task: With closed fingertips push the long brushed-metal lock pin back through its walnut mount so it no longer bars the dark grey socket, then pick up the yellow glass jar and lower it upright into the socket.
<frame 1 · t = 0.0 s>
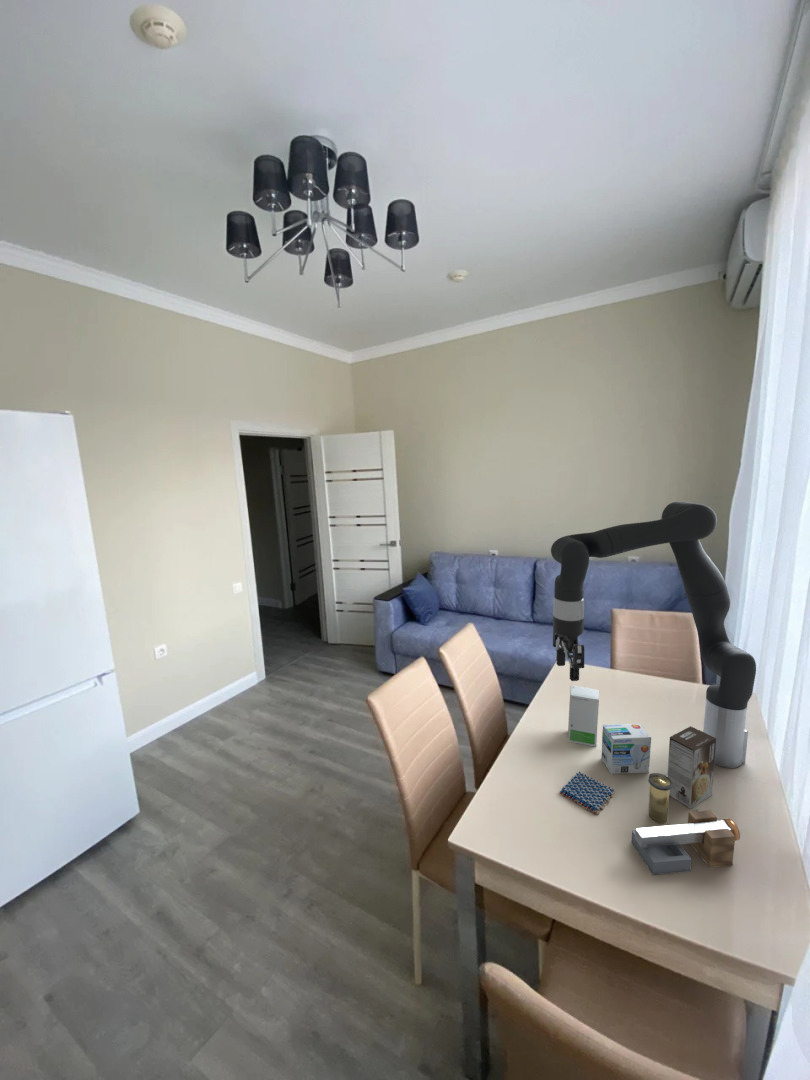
hand: (567, 672, 117), 29 cm above the table, fingers open, 8 cm apart
coffee box: (688, 794, 112), on the table
light bulb box: (624, 766, 123), on the table
mount: (708, 851, 95), on the table
woven mat: (587, 796, 113), on the table
lock pin: (685, 833, 94), point 5 cm above the table, slide at 0.0 cm
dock: (659, 856, 95), on the table
skincare box: (582, 738, 135), on the table
yellow glass jar: (657, 817, 105), on the table
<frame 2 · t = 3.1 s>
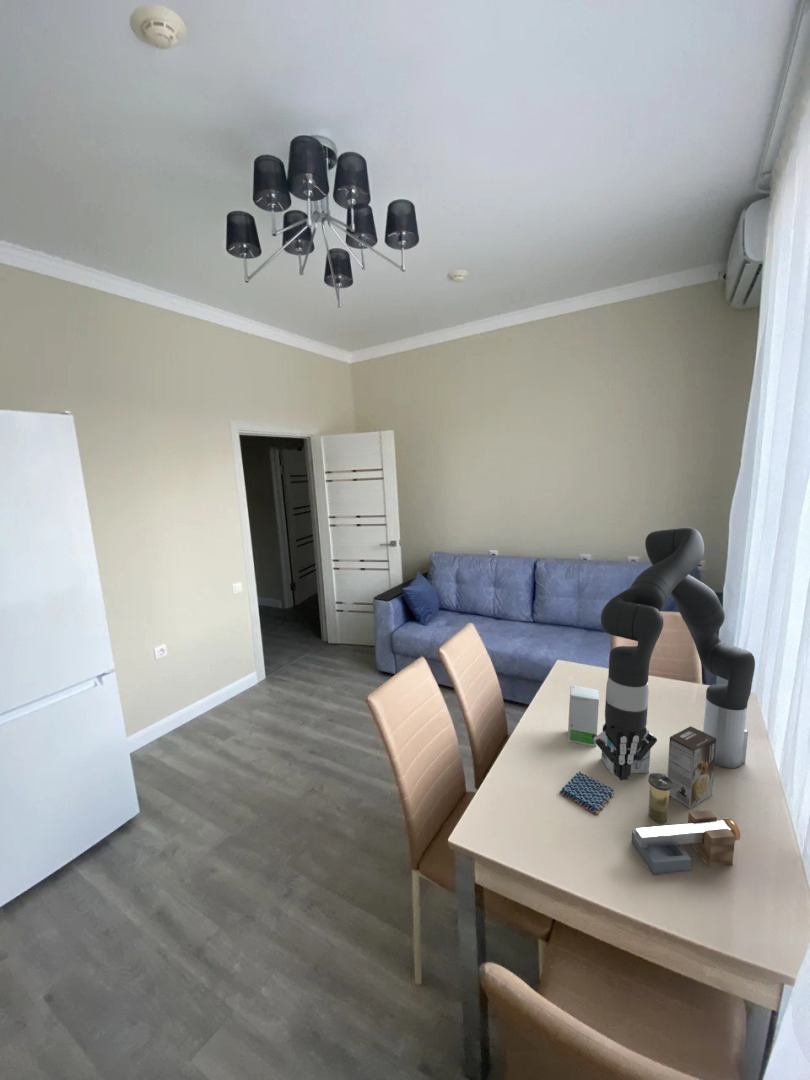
hand: (621, 777, 91), 20 cm above the table, fingers closed
nothing on the table moved.
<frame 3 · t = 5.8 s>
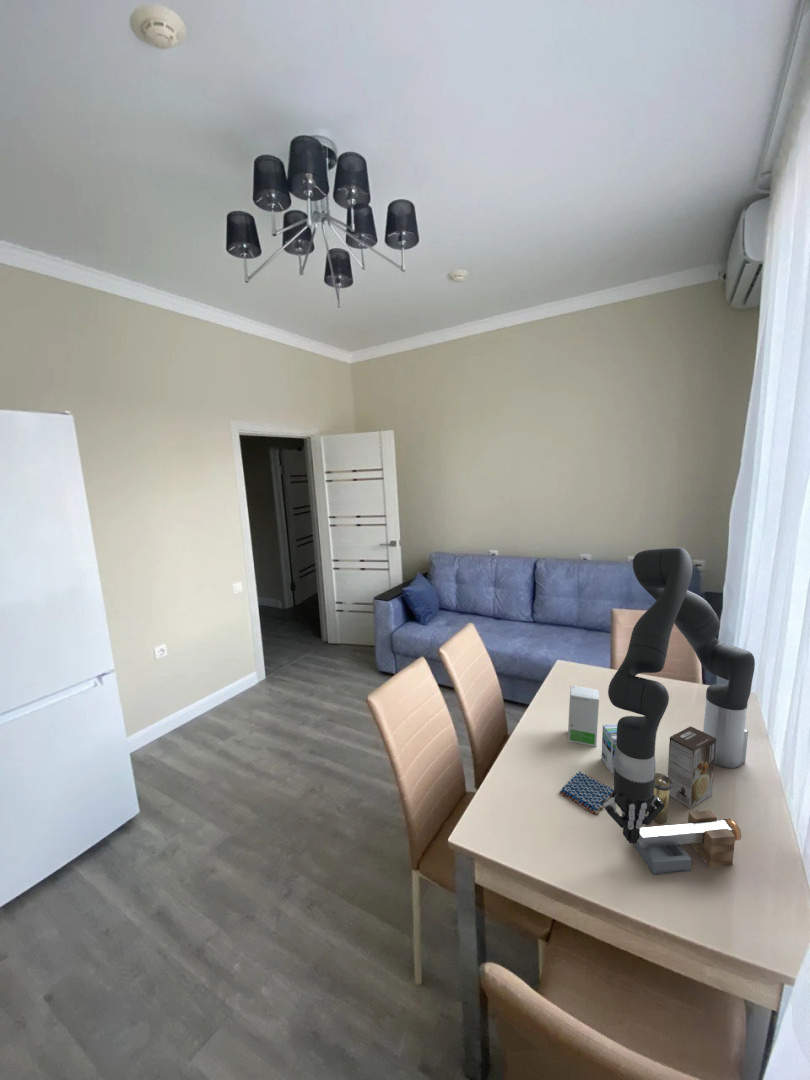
hand: (630, 839, 94), 5 cm above the table, fingers closed
lock pin: (686, 833, 94), point 5 cm above the table, slide at 0.2 cm, touching gripper
everything else where it was.
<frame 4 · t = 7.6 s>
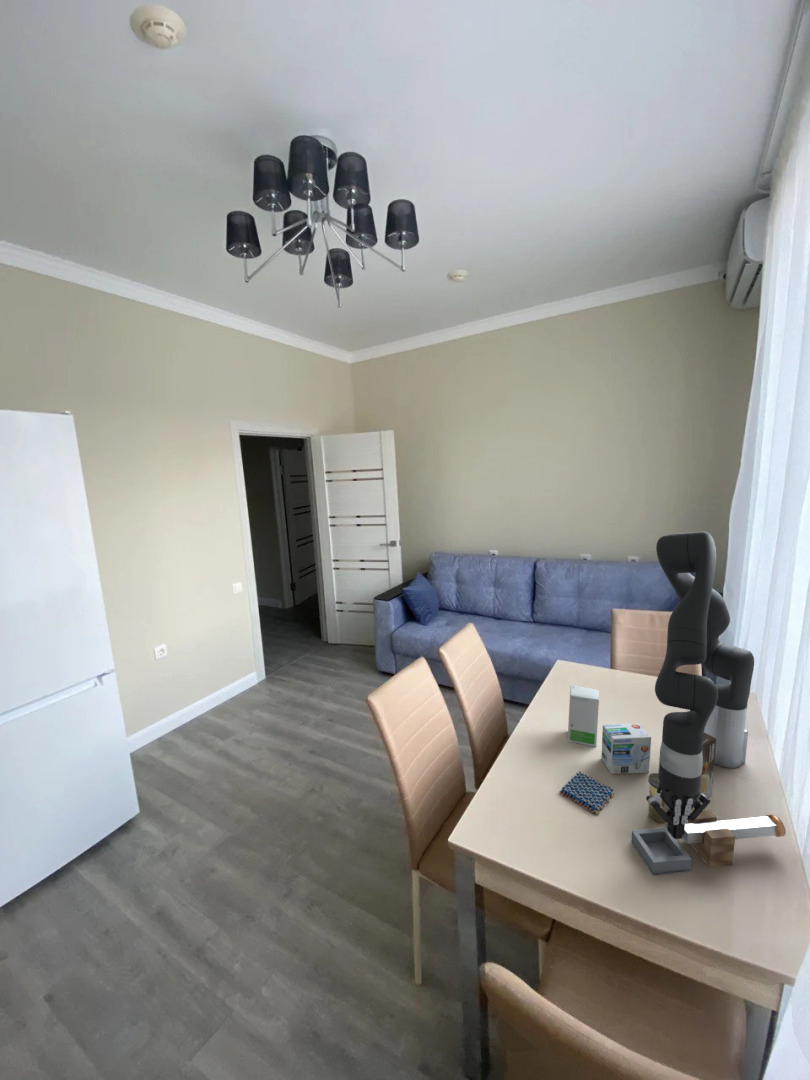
hand: (675, 835, 94), 5 cm above the table, fingers closed
lock pin: (730, 829, 95), point 5 cm above the table, slide at 10.0 cm, touching gripper
everything else where it was.
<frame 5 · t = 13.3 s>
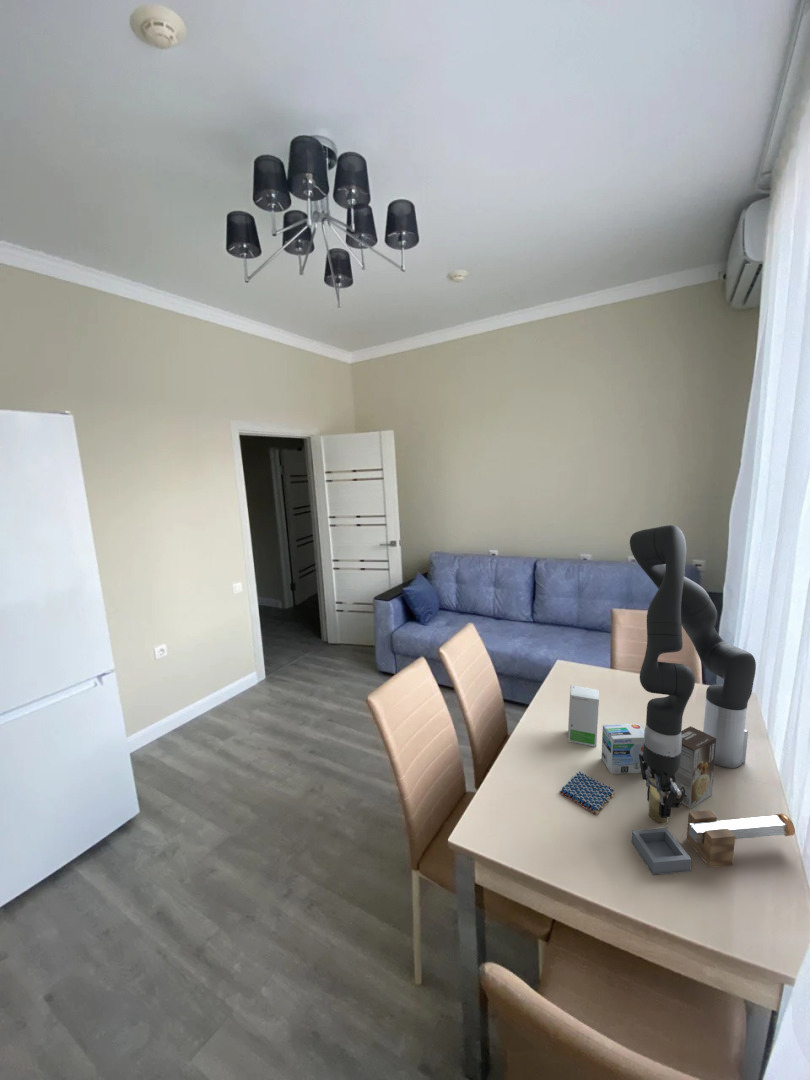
hand: (658, 808, 105), 2 cm above the table, fingers closed on yellow glass jar, 4 cm apart
lock pin: (739, 828, 95), point 5 cm above the table, slide at 12.1 cm
yellow glass jar: (657, 817, 105), on the table, touching gripper
everything else where it was.
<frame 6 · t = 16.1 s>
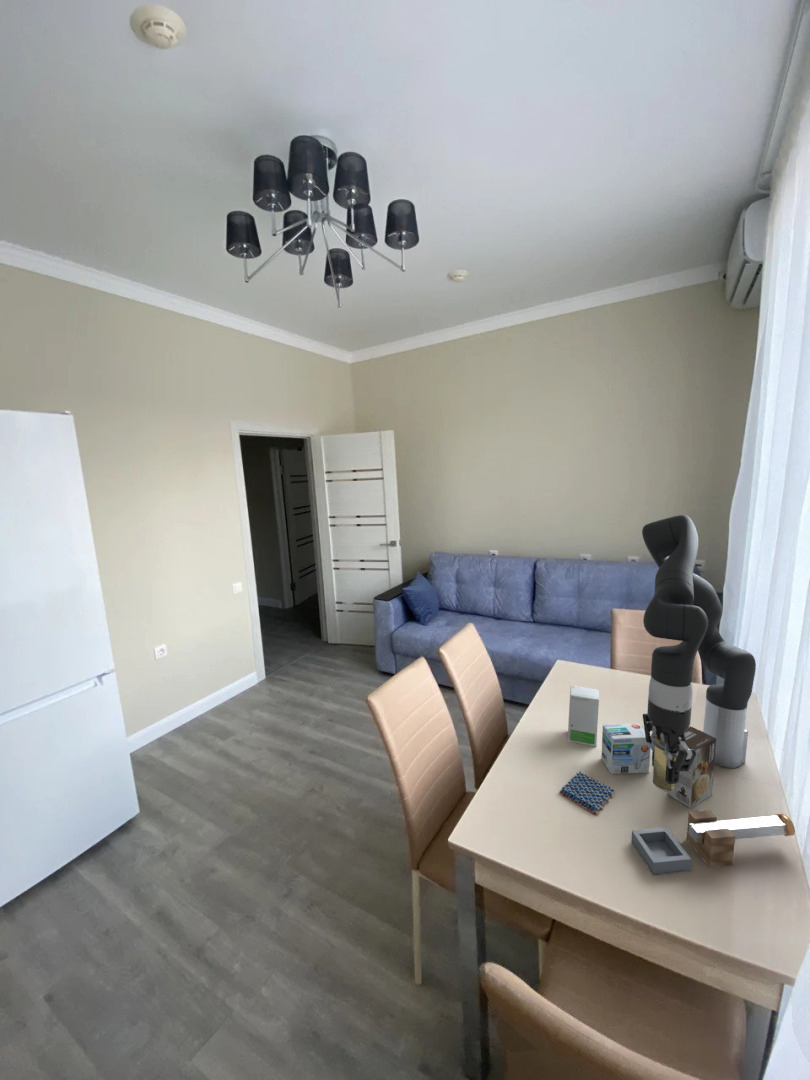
hand: (664, 774, 92), 20 cm above the table, fingers closed on yellow glass jar, 4 cm apart
yellow glass jar: (663, 783, 92), point 18 cm above the table, touching gripper
everything else where it was.
when the fingers open (5 cm above the table, at t = 19.1 s): yellow glass jar drops 2 cm, resting on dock.
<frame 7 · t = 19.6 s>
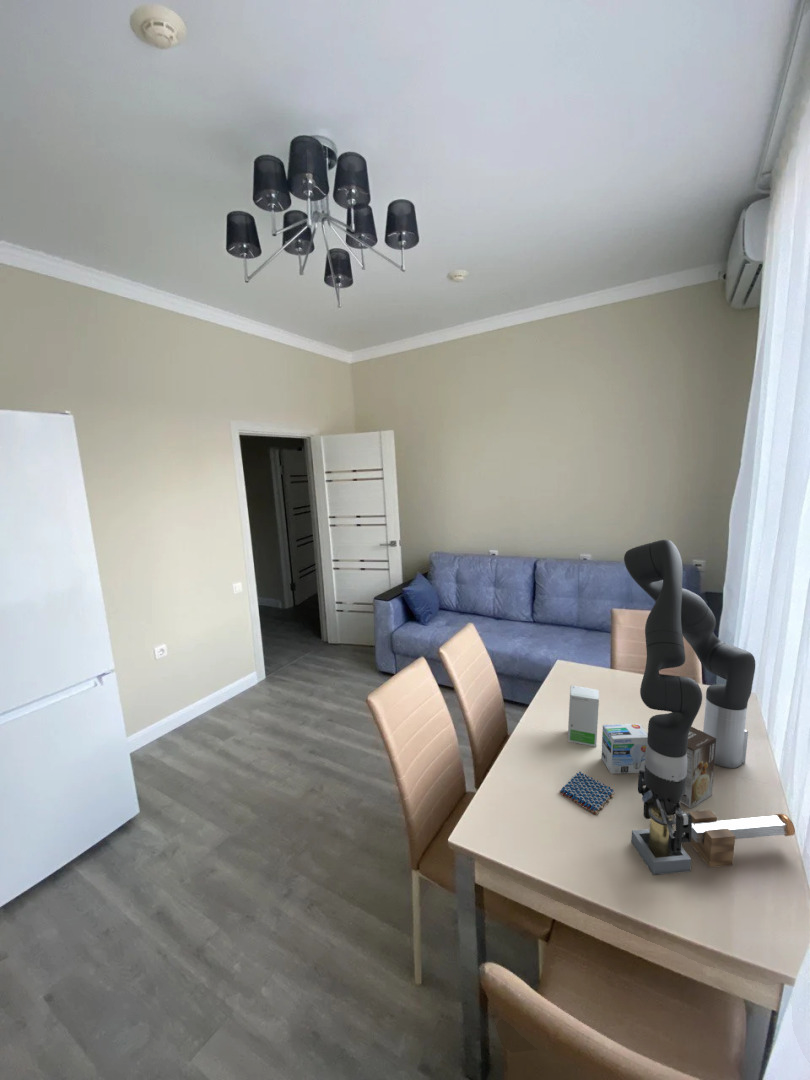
hand: (661, 833, 94), 6 cm above the table, fingers open, 8 cm apart
yellow glass jar: (658, 852, 95), point 1 cm above the table, touching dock
everything else where it was.
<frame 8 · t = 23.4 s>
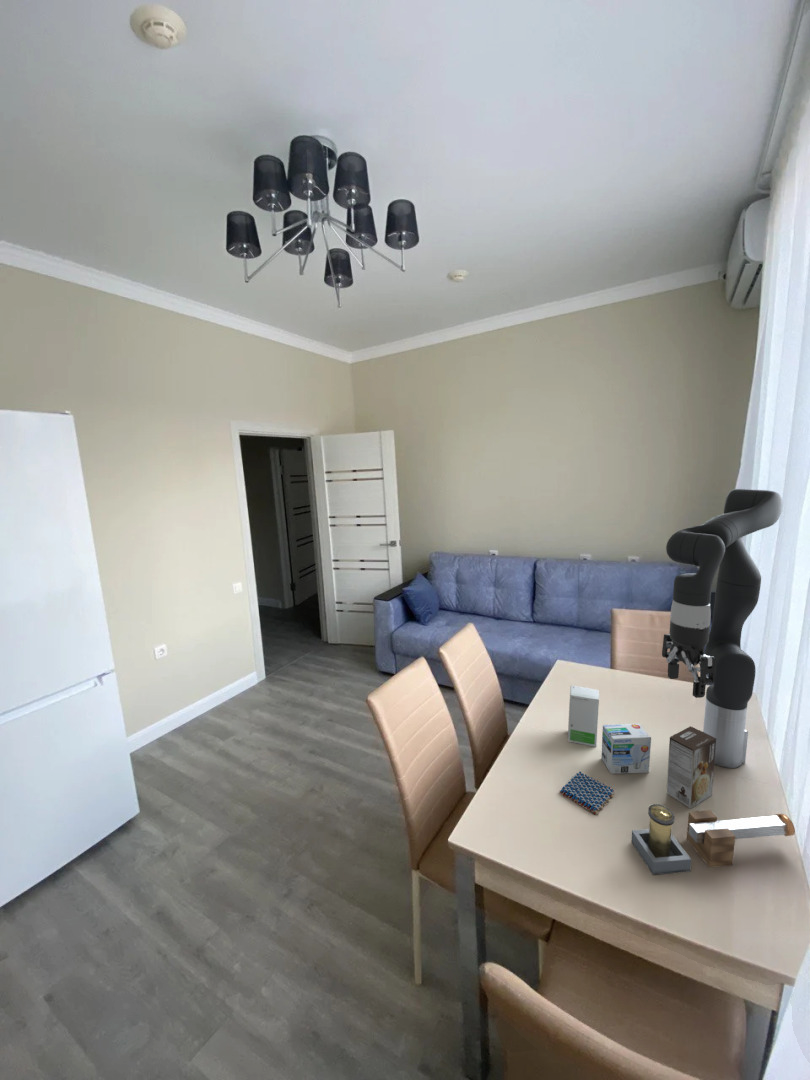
hand: (685, 687, 102), 32 cm above the table, fingers open, 8 cm apart
nothing on the table moved.
at the end: lock pin slide at 12.1 cm; yellow glass jar 0.3 cm off-centre on the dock, point 0.5 cm above the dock's base; yellow glass jar tilted 1° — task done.
